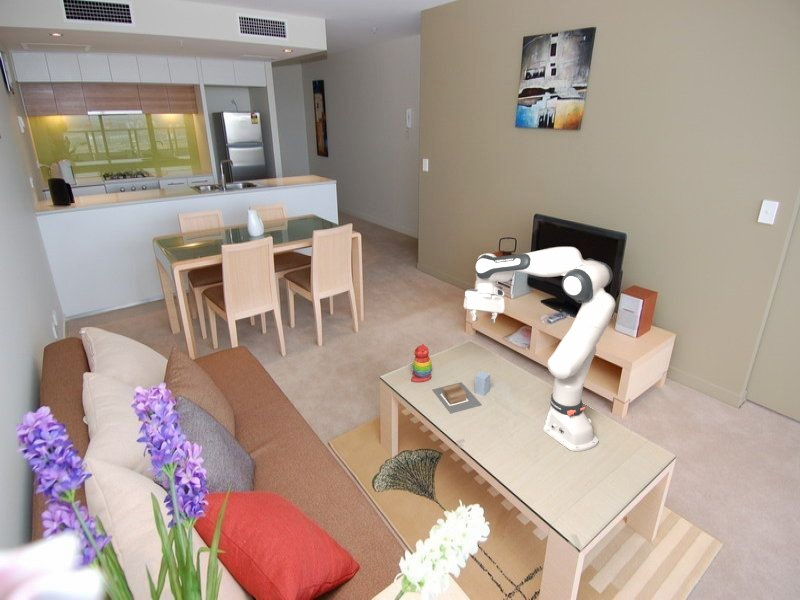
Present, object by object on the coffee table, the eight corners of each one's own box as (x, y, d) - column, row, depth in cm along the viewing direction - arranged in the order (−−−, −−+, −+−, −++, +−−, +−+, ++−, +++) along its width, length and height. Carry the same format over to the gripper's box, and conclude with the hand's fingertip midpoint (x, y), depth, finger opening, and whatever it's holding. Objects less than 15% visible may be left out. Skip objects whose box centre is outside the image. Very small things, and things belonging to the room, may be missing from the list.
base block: (466, 400, 212) (466, 393, 210) (450, 404, 210) (450, 397, 208) (458, 391, 219) (458, 383, 217) (442, 394, 216) (442, 387, 215)
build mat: (482, 405, 209) (482, 405, 208) (450, 414, 204) (450, 413, 203) (461, 382, 226) (461, 382, 226) (431, 390, 221) (431, 389, 221)
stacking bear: (412, 371, 237) (412, 340, 230) (432, 372, 235) (432, 341, 228) (410, 382, 227) (409, 351, 220) (431, 384, 226) (431, 352, 218)
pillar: (489, 392, 218) (490, 374, 214) (483, 397, 215) (485, 378, 211) (480, 388, 221) (481, 370, 217) (474, 393, 218) (475, 375, 214)
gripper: (470, 287, 196) (468, 319, 195) (507, 292, 206) (506, 323, 204) (461, 288, 202) (459, 319, 200) (498, 293, 211) (497, 324, 210)
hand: (483, 321), depth 202 cm, fingers open, 8 cm apart
